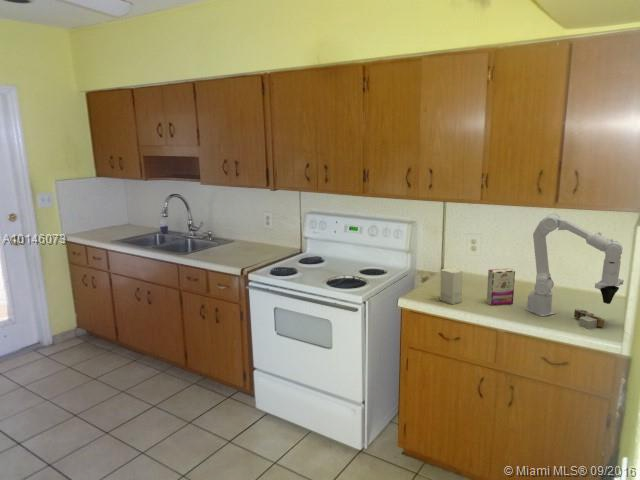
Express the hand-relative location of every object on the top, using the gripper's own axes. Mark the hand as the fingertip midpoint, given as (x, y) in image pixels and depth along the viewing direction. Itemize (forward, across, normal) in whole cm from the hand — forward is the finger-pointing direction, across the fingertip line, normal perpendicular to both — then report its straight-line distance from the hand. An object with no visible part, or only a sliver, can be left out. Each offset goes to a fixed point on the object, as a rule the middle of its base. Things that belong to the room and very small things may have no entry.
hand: (606, 303), depth 191 cm
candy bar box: (+10, -20, +38) cm, 44 cm away
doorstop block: (+10, -8, +2) cm, 13 cm away
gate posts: (+9, -3, +6) cm, 12 cm away
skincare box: (+10, -40, +50) cm, 64 cm away
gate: (+9, -5, +4) cm, 11 cm away
